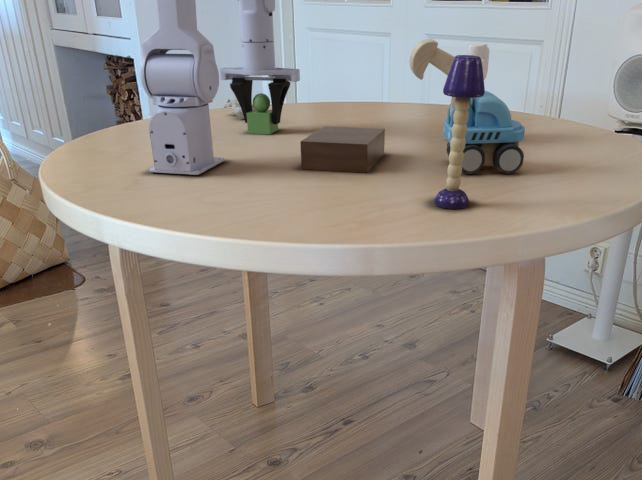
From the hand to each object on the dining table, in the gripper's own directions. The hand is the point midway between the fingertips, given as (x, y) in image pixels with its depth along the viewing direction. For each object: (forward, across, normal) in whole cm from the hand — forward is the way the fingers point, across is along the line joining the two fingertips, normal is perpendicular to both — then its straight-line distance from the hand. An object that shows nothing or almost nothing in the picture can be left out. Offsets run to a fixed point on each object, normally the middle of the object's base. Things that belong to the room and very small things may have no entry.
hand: (262, 122), depth 122 cm
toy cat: (+2, +9, -12) cm, 15 cm away
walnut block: (+2, -21, +20) cm, 29 cm away
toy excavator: (+2, -39, +20) cm, 44 cm away
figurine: (+2, -38, -2) cm, 38 cm away
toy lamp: (+2, -40, +39) cm, 56 cm away
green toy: (+2, 0, 0) cm, 2 cm away
